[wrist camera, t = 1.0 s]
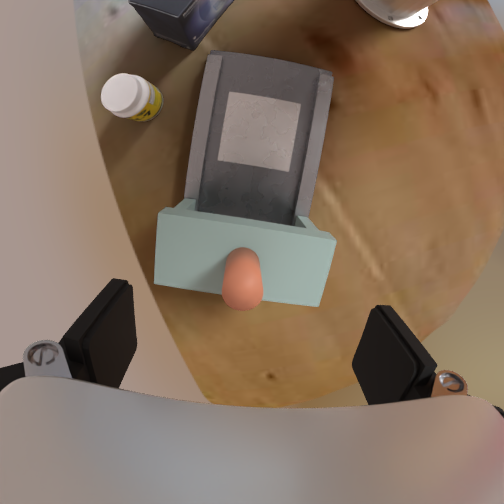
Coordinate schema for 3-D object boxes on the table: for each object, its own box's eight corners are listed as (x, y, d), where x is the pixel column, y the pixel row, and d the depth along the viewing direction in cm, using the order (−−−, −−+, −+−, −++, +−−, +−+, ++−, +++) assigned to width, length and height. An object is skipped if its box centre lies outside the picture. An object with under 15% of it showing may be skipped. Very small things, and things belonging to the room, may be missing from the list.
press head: (184, 193, 31) (135, 230, 17) (309, 213, 32) (359, 264, 18) (178, 245, 33) (135, 314, 19) (298, 262, 34) (333, 341, 20)
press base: (212, 54, 28) (209, 46, 26) (328, 74, 29) (335, 69, 27) (181, 259, 37) (177, 268, 34) (289, 275, 38) (292, 284, 35)
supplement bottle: (128, 124, 31) (96, 119, 23) (127, 89, 29) (96, 75, 21) (164, 119, 31) (141, 110, 23) (164, 82, 29) (141, 64, 21)
